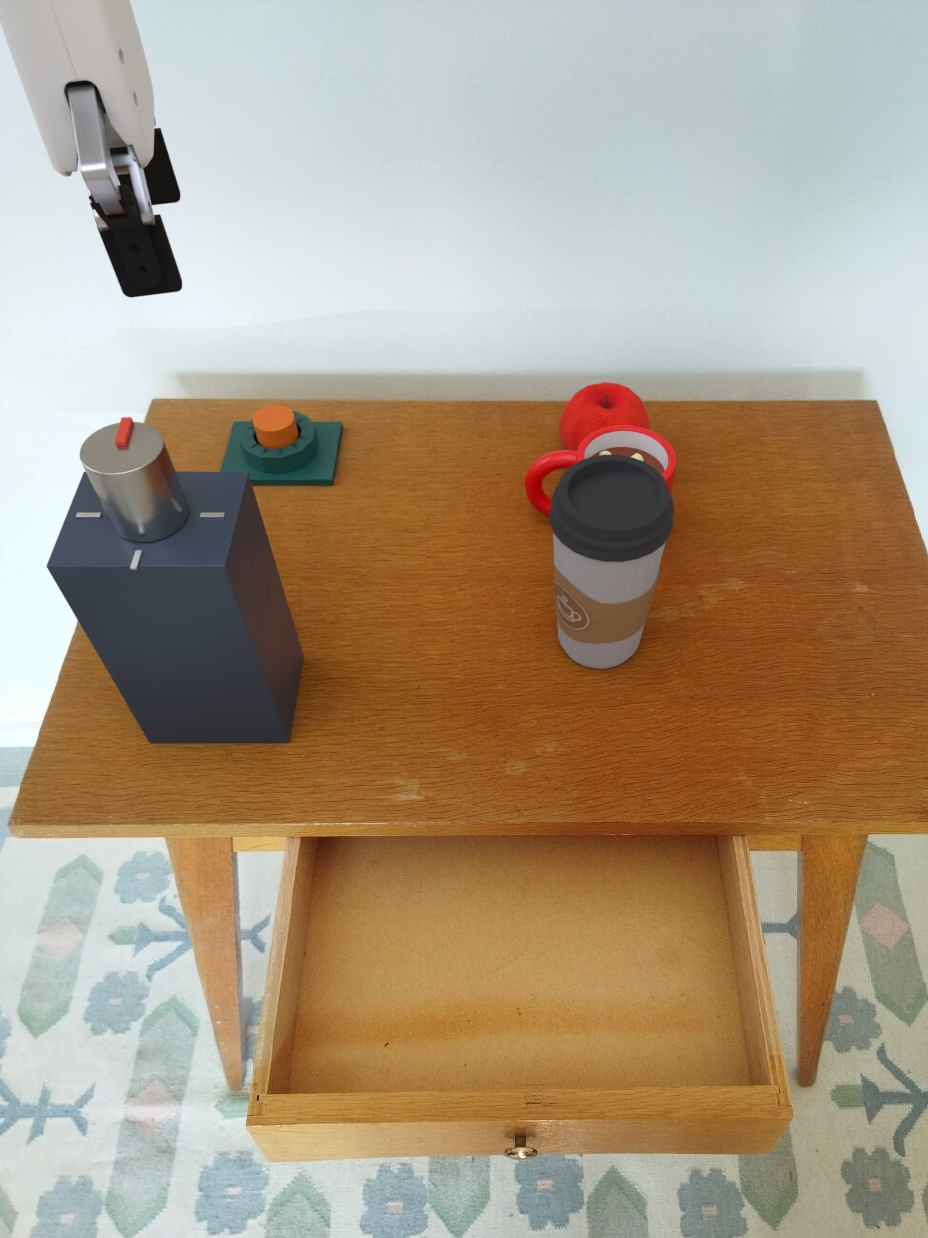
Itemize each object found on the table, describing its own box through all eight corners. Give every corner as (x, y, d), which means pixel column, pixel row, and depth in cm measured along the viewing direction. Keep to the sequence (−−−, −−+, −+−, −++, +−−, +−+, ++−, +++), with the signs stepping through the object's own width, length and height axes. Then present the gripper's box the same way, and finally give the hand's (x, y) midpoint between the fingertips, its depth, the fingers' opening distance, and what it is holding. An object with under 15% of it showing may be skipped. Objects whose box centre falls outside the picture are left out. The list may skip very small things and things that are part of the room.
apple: (593, 423, 89) (598, 353, 83) (663, 458, 86) (673, 388, 80) (540, 466, 85) (541, 396, 79) (611, 504, 82) (618, 435, 76)
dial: (183, 541, 54) (154, 467, 50) (105, 544, 54) (68, 471, 50) (194, 489, 57) (167, 415, 52) (119, 491, 56) (85, 418, 52)
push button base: (219, 485, 83) (212, 463, 81) (235, 427, 88) (228, 404, 86) (333, 485, 84) (328, 463, 82) (343, 427, 88) (338, 404, 86)
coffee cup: (523, 630, 74) (523, 481, 62) (606, 584, 77) (621, 433, 65) (590, 699, 70) (604, 555, 58) (674, 648, 73) (704, 500, 61)
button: (254, 450, 83) (249, 431, 81) (261, 424, 85) (255, 404, 84) (295, 450, 83) (291, 431, 81) (301, 424, 85) (296, 404, 84)
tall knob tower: (148, 747, 68) (42, 568, 53) (173, 653, 72) (83, 465, 58) (289, 746, 68) (223, 568, 53) (304, 652, 73) (248, 465, 58)
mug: (528, 491, 83) (529, 417, 77) (665, 501, 83) (677, 427, 76) (519, 555, 79) (519, 482, 72) (663, 566, 78) (676, 493, 72)
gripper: (-45, -188, 45) (94, 180, 60) (-100, -61, 36) (81, 341, 50) (116, -198, 46) (215, 166, 60) (104, -78, 37) (225, 322, 51)
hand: (155, 245), depth 55 cm, fingers open, 9 cm apart
